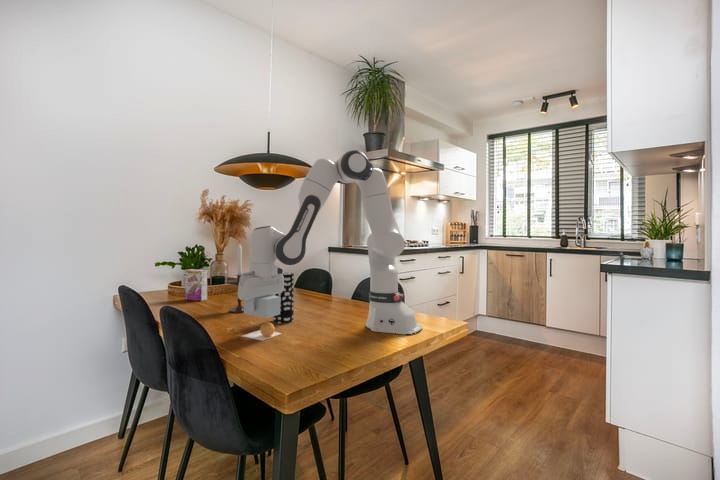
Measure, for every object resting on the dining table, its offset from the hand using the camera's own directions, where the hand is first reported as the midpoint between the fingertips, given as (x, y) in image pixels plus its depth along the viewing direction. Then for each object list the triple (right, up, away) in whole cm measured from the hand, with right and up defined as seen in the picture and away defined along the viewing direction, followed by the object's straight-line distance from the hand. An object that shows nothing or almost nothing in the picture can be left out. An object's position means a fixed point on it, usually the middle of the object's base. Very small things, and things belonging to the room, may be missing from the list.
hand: (261, 308), depth 131 cm
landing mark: (0, -10, 0) cm, 10 cm away
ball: (+2, -7, -1) cm, 8 cm away
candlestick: (-21, -9, +39) cm, 45 cm away
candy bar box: (-53, -8, +64) cm, 84 cm away
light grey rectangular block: (0, -2, 0) cm, 2 cm away
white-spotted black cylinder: (+3, -10, +21) cm, 23 cm away
